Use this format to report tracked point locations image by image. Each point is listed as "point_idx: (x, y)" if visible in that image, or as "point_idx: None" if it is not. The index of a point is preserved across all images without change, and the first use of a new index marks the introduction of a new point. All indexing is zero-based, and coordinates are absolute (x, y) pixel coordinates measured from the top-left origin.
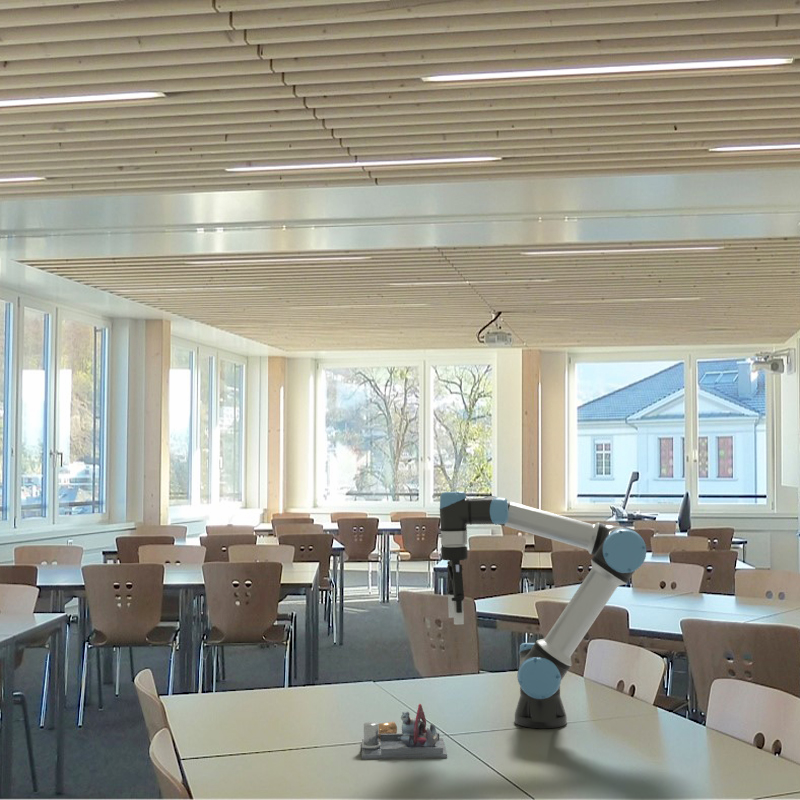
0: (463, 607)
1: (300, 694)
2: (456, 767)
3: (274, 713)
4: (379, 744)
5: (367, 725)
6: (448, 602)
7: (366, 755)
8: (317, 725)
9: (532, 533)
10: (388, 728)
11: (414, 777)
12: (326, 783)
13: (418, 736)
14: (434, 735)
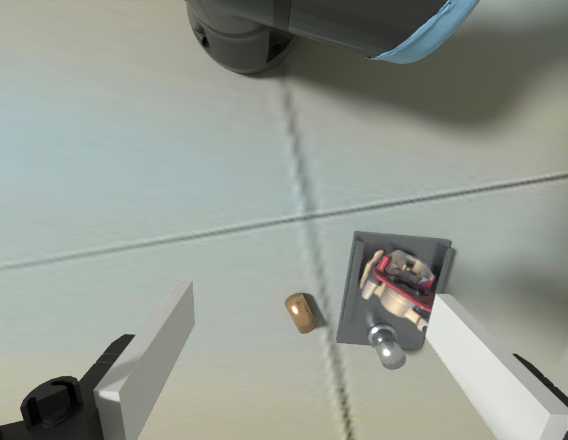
0: (521, 364)
1: (22, 396)
2: (499, 234)
3: (151, 428)
4: (388, 328)
5: (401, 365)
6: (158, 396)
7: (421, 343)
8: (226, 384)
9: None
10: (308, 310)
11: (524, 294)
12: None
13: (412, 284)
14: (407, 258)
